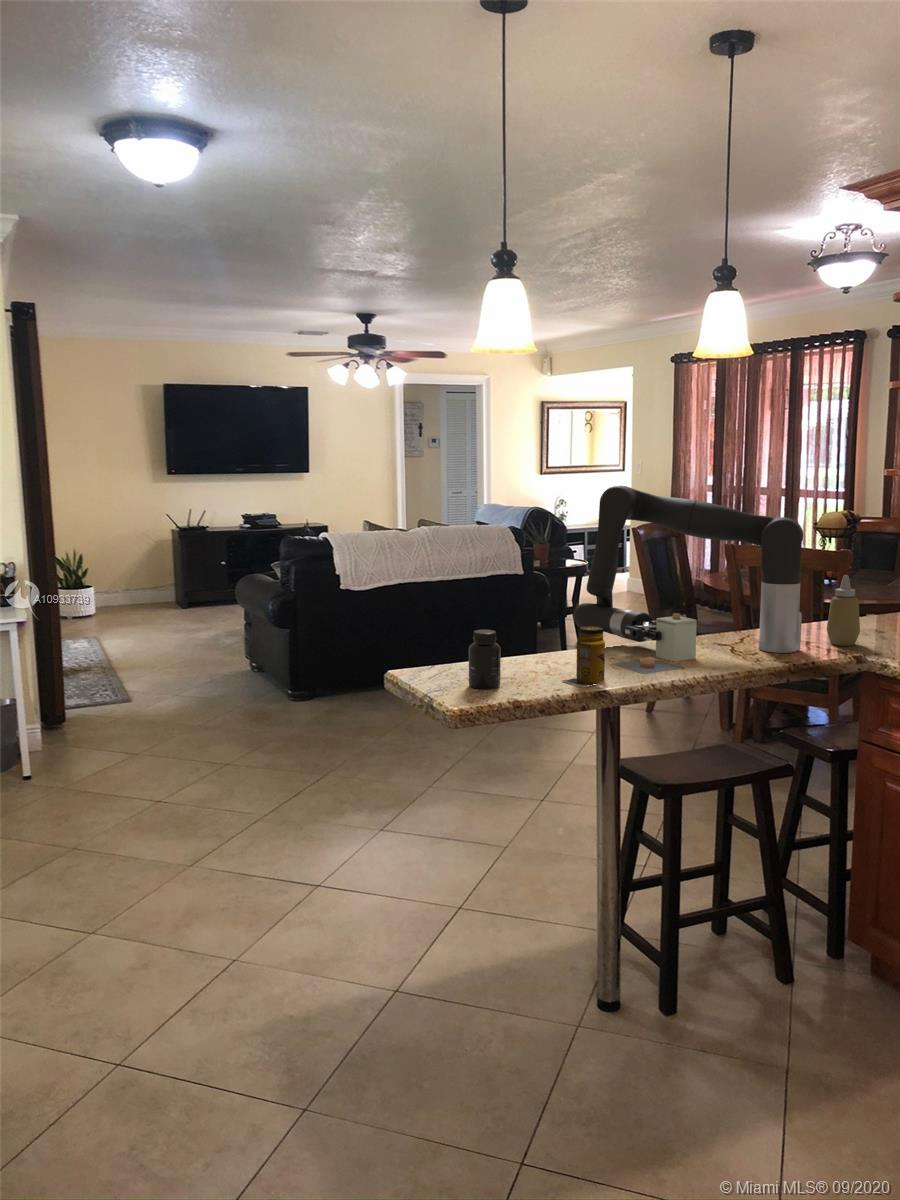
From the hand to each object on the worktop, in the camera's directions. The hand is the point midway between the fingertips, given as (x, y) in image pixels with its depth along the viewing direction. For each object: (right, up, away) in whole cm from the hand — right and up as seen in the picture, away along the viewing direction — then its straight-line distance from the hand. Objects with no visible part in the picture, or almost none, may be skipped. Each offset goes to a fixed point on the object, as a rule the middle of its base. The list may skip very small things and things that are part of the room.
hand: (674, 634), depth 217 cm
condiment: (-24, -10, -21) cm, 34 cm away
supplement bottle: (-47, -10, -24) cm, 53 cm away
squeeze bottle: (+48, -3, +17) cm, 51 cm away
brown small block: (-8, -7, -9) cm, 14 cm away
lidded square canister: (0, -6, 0) cm, 6 cm away
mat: (-8, -7, -9) cm, 14 cm away
